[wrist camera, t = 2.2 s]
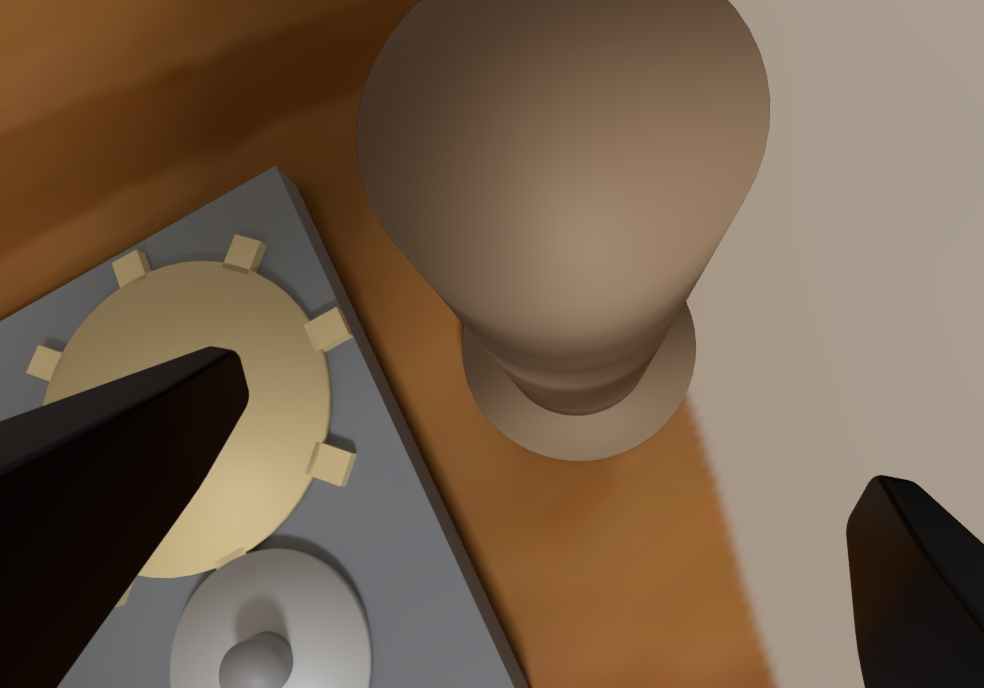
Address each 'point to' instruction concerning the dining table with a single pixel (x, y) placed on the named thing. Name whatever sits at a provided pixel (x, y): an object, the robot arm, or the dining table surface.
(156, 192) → the dining table surface
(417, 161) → the walnut spindle
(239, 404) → the robot arm
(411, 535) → the gear board
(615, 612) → the dining table surface
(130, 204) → the dining table surface
